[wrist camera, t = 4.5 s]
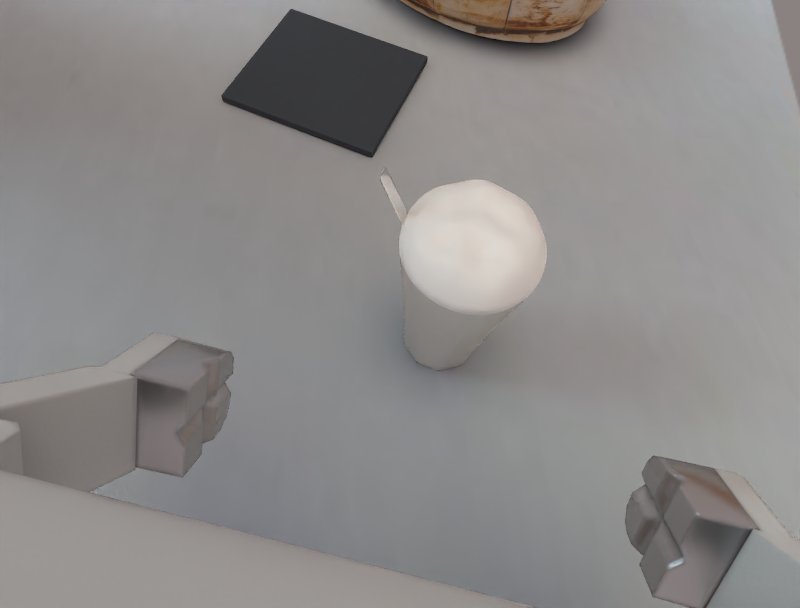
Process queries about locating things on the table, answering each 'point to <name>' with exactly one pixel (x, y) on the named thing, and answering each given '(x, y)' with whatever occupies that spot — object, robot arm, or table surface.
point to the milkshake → (463, 265)
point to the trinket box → (511, 17)
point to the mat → (327, 81)
